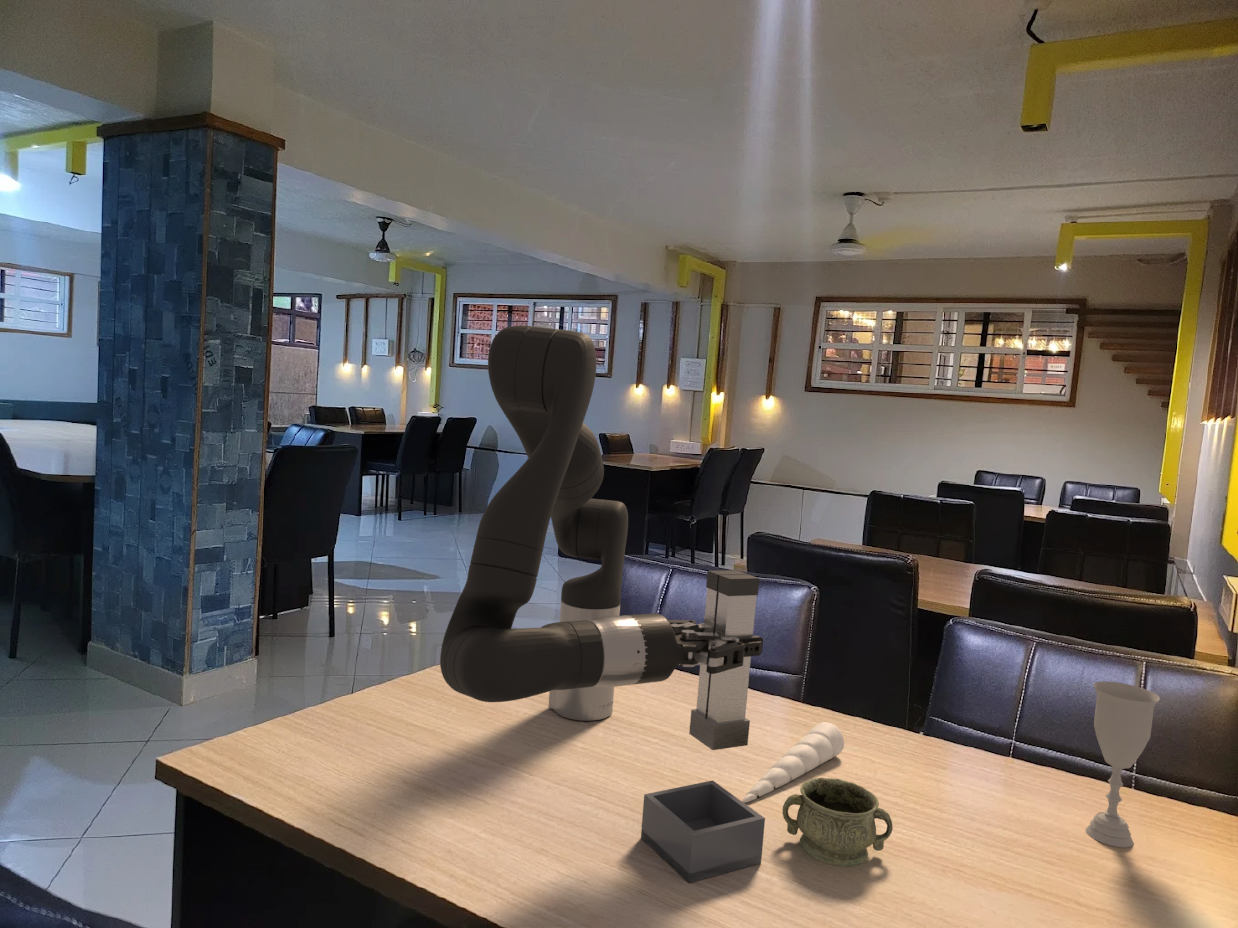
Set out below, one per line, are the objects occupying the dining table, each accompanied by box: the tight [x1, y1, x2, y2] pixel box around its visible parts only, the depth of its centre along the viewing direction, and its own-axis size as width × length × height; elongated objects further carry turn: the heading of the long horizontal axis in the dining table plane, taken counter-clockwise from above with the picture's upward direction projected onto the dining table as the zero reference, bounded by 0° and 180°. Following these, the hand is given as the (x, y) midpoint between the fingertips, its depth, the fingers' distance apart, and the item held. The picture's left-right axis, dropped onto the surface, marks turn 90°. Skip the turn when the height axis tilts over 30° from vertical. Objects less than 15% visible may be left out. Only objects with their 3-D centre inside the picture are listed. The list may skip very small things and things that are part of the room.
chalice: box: [1085, 680, 1161, 848], centre depth 98 cm, size 7×7×18 cm
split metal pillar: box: [688, 569, 760, 751], centre depth 97 cm, size 5×5×20 cm
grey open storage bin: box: [640, 780, 766, 884], centre depth 89 cm, size 9×9×5 cm
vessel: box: [782, 777, 893, 867], centre depth 91 cm, size 12×9×6 cm
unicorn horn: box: [741, 721, 845, 804], centre depth 110 cm, size 5×24×5 cm, turn 136°
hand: (746, 639), depth 98 cm, fingers closed on split metal pillar, 4 cm apart
